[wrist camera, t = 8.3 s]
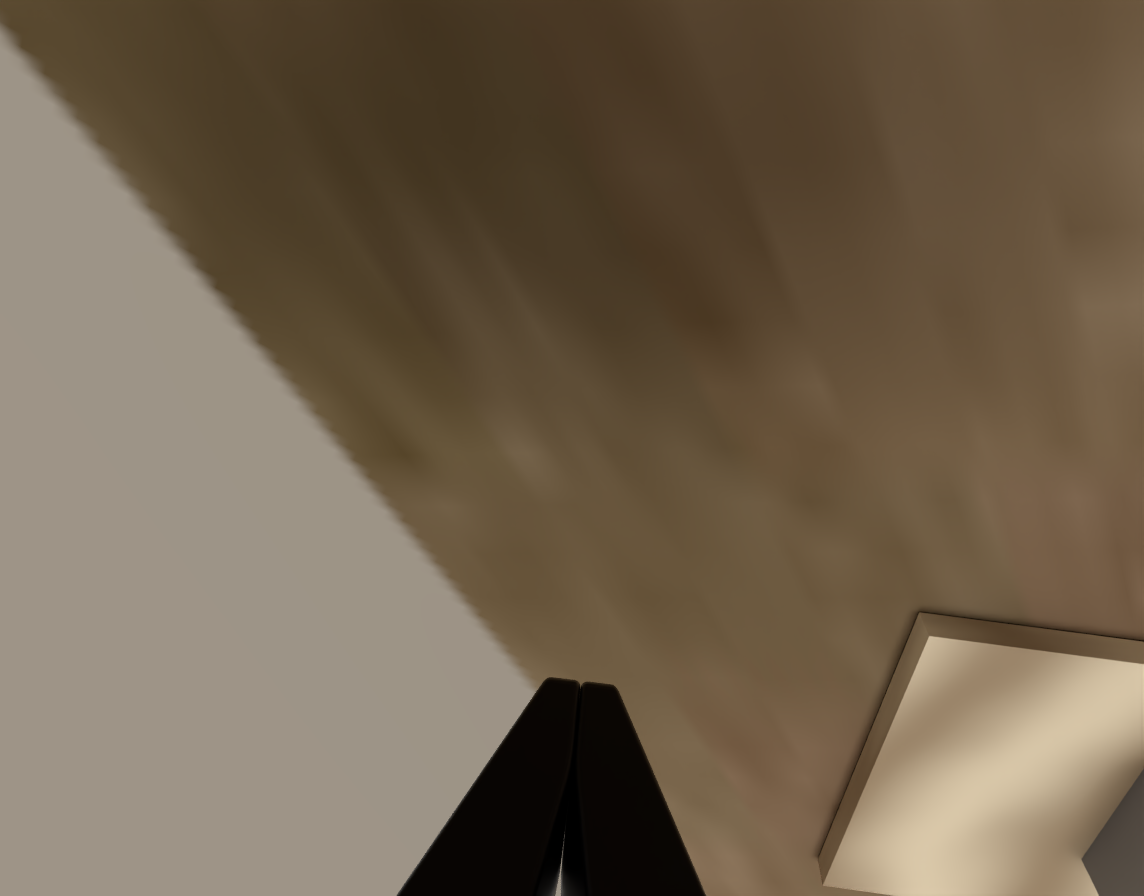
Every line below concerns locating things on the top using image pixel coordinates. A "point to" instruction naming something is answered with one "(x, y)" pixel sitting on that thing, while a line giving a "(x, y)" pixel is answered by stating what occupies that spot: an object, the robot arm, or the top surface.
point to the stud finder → (1120, 848)
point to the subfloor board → (991, 763)
